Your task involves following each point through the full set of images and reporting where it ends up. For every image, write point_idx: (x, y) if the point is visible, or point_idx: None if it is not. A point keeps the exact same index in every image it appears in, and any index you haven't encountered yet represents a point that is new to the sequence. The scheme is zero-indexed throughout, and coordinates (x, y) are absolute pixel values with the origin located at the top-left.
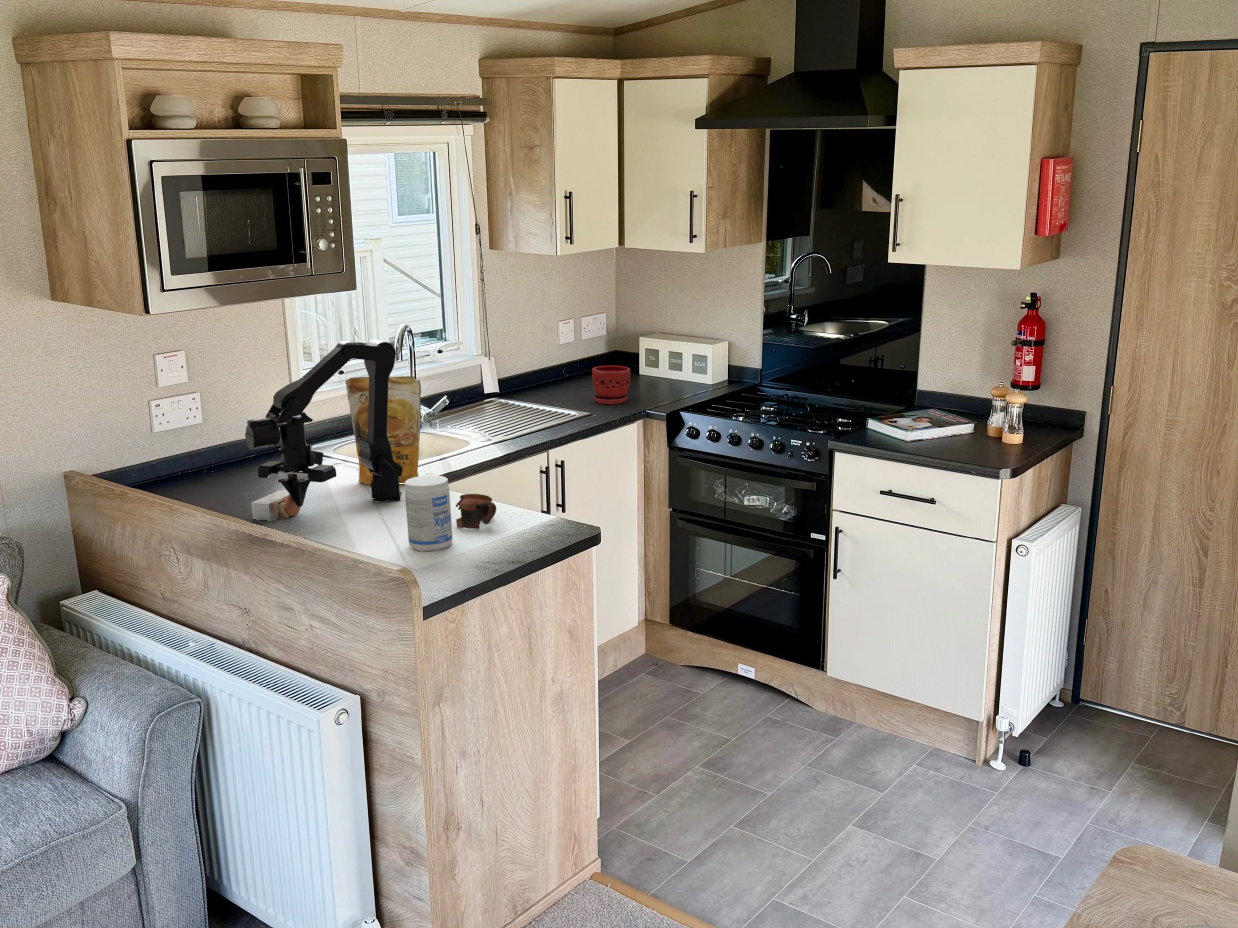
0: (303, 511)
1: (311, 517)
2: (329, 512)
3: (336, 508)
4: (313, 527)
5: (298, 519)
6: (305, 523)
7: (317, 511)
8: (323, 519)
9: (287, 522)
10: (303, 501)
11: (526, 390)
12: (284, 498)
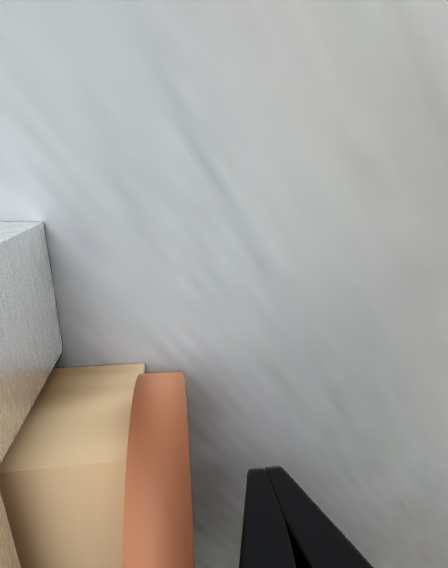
0: (164, 291)
1: (328, 395)
2: (413, 249)
3: (431, 114)
4: (430, 519)
5: (259, 456)
6: (352, 492)
7: (295, 254)
8: (433, 400)
9: (224, 519)
10: (309, 502)
11: None
12: (9, 564)
